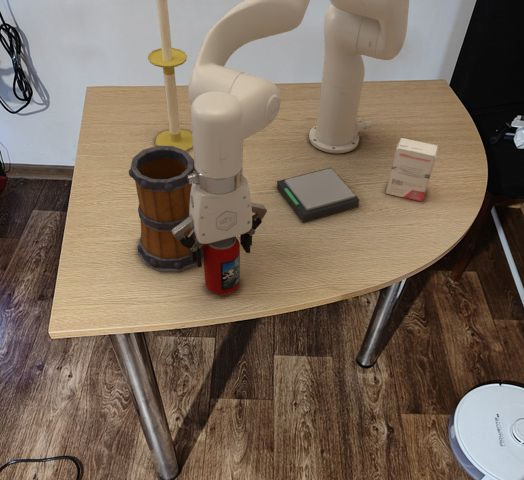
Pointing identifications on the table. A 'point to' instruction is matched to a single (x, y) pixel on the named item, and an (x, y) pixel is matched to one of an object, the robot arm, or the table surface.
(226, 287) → the beverage can
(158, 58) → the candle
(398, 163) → the ink box
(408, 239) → the table surface
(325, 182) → the scale
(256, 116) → the robot arm
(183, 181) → the mug
